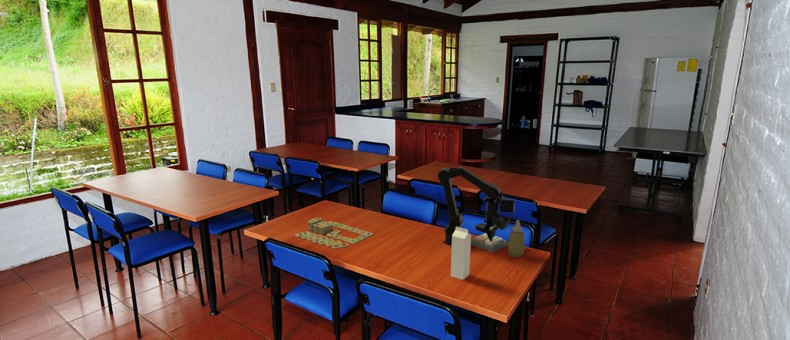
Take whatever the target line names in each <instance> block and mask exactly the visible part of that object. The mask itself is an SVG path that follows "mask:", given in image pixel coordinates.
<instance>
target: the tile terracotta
mask: <svg viewBox="0 0 790 340" xmlns="http://www.w3.org/2000/svg"><path fill="white" fill-rule="evenodd" d="M481 235H482V234H481ZM481 235H478V236H475V237H474V238H475V241H478V242H481V243H482V242H485V241H486V240H487V238H486V237H484V236H481Z"/></svg>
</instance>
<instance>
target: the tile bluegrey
mask: <svg viewBox="0 0 790 340" xmlns="http://www.w3.org/2000/svg"><path fill="white" fill-rule="evenodd" d="M493 240H495V241H497V243H498V244H499V243H501V242H503V240H504V239H503V237H499V236H497V235H496V236H495V235H494V237H493Z"/></svg>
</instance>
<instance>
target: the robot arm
mask: <svg viewBox="0 0 790 340" xmlns="http://www.w3.org/2000/svg"><path fill="white" fill-rule="evenodd" d="M457 177H461V178H462V179H464V180H466V181H468V182H469V183H470V184H472V185H474V186H475V187H477V188H479V189H480V190H481V191H482V192H483V194H485V195H484V196H486V197H485V198H483V201H482V202H483V203H486V211H484V215H485V219H484V220H483V222H480V223H478V224H476V225H475V231H478V232H480V233H482V234H485V233H486V234H487V236H488V238H489V240H490V241H492V240H493V237H495V234H496V232H497V231H498V230H501V231H504V230H505V229H508V226H510V224H511V222H510V221H511V218H510V217H508V216H506V217H502V216H501V213H504V214H505V213H507V214H515V210H516V209H515V207H516V204H515V199H514V198H510V199H509V198H505V197H504V195H503V194H502V193H501V188H500V187H499V186H498V185H497V184H494V183H492V182H489V181H486V180H484V179H482V178H481V177H479V176H478V175H476V174H475V173H473V172H472V171H470V170H468V169H467V168H466V167H464V166H459V167H451V168H450V167H443V168H441V169H440V170H439V171H438V173H437V178H438V180H439V183H440V184H441V187H442V188H443V190H444V191H443V192H444V197H445V200H446V205H447V209H448V214H449V215H448V224H447V226H446V227H445V229H444V235H445V239H444V240H443V241H442V243H444V244H446V245H448V246H451V247H452V235H453V233H454V232H455V230H456V227H460V228H462V226H463V224H464V221H465V220H464V219H463V213H460V212H459V211H458V206H457V202H456V197H455V194H454V189H453V179H454V178H457ZM499 210H500V212H499Z"/></svg>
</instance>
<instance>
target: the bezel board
mask: <svg viewBox="0 0 790 340" xmlns="http://www.w3.org/2000/svg"><path fill="white" fill-rule="evenodd" d="M481 236H482V234H481ZM475 238H476V237H474V238H471V246H474V247H476V248H479V249H481V250H484V251H486V252H488V253H492V254H493V253H495V252H497V251H499V250H501V249H503V248H505V247H507V246H508V241H507V240H505V239H503V242H501V243H499V244H498V243H496V245H494V246H489V245H486V244H485V242H482V243H481V242H478V241H475Z"/></svg>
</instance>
